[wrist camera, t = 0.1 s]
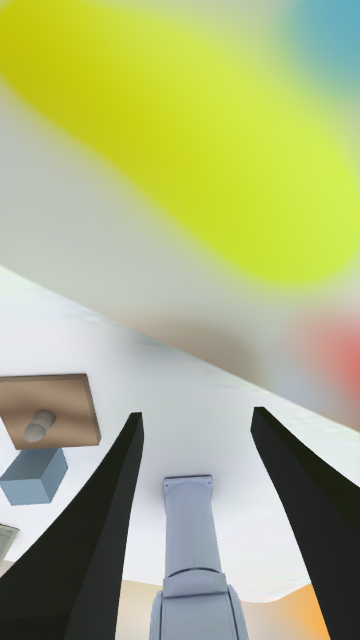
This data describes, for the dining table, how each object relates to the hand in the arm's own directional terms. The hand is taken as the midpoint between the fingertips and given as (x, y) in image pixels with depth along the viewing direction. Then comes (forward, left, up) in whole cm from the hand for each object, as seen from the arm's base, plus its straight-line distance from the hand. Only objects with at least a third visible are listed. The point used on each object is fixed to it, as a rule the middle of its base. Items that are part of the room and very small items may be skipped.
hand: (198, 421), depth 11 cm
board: (-9, +18, -10) cm, 22 cm away
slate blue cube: (-18, +21, -10) cm, 29 cm away
